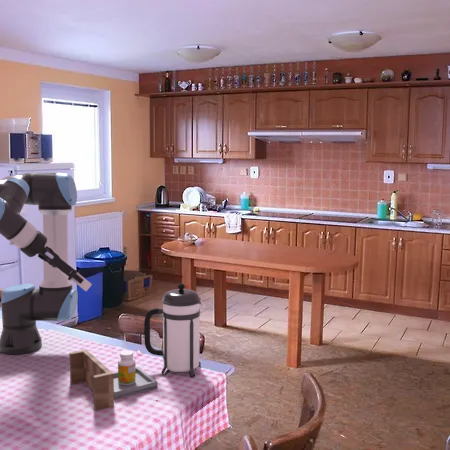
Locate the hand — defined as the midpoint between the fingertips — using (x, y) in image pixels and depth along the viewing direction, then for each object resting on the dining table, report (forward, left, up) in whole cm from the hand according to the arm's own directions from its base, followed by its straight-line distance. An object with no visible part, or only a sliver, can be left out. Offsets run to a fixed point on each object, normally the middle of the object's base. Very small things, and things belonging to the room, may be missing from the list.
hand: (80, 282), depth 172 cm
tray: (+8, +11, -33) cm, 36 cm away
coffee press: (+6, +30, -33) cm, 45 cm away
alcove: (+8, -1, -33) cm, 34 cm away
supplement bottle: (+8, +11, -32) cm, 35 cm away
